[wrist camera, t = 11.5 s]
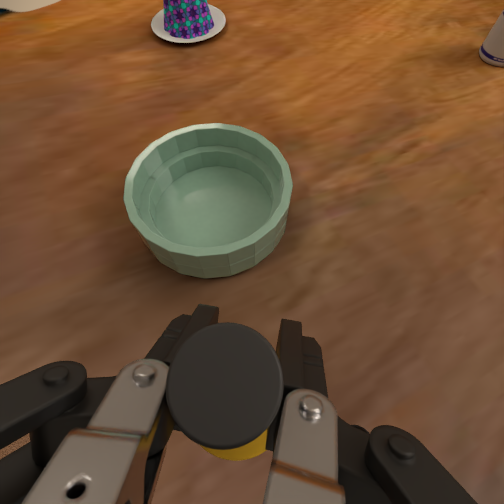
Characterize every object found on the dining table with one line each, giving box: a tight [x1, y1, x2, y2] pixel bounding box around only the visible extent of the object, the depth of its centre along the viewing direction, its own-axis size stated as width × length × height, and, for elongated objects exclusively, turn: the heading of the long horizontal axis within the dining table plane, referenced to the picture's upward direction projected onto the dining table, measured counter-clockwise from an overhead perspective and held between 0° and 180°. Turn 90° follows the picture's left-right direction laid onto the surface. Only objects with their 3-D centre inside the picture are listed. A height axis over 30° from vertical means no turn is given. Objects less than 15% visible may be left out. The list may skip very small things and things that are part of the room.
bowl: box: [123, 123, 293, 278], centre depth 32 cm, size 16×16×6 cm
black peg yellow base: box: [166, 323, 284, 461], centre depth 10 cm, size 4×4×9 cm
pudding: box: [151, 0, 226, 43], centre depth 49 cm, size 12×12×5 cm
